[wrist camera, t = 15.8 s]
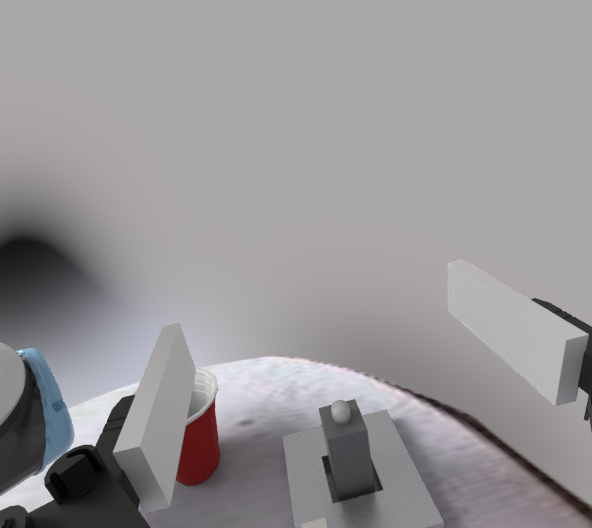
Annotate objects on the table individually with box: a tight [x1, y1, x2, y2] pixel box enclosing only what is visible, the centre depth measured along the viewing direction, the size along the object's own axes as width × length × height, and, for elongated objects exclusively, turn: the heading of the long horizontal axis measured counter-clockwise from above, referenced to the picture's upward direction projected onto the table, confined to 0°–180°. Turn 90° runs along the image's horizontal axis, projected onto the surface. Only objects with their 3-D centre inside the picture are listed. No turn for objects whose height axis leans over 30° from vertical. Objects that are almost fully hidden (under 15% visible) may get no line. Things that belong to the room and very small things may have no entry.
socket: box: [282, 410, 444, 528], centre depth 38 cm, size 14×14×3 cm
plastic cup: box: [132, 368, 220, 486], centre depth 43 cm, size 11×11×12 cm
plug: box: [319, 399, 375, 502], centre depth 37 cm, size 4×4×12 cm
